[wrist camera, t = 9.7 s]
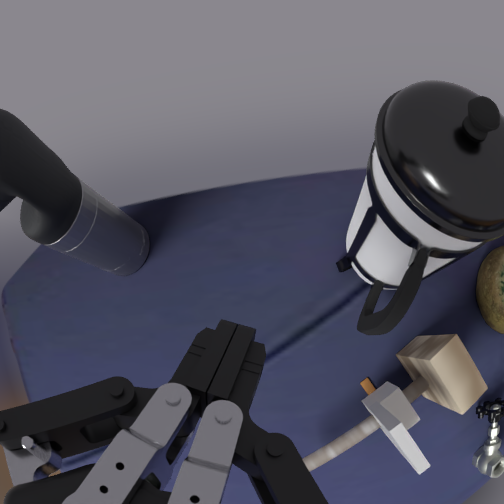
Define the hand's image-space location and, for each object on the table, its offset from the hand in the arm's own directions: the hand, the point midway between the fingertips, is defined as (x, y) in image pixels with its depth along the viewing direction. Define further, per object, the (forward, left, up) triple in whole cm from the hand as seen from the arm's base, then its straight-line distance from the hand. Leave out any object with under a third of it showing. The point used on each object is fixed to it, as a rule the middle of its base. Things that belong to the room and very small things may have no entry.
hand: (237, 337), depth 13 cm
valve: (+30, -21, -28) cm, 47 cm away
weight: (+36, +1, -28) cm, 46 cm away
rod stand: (+11, -11, -28) cm, 32 cm away
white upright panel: (+12, -11, -25) cm, 30 cm away
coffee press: (+15, +9, -28) cm, 33 cm away
